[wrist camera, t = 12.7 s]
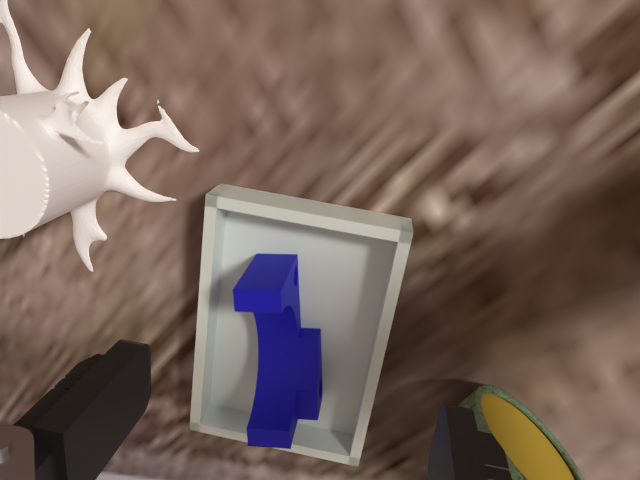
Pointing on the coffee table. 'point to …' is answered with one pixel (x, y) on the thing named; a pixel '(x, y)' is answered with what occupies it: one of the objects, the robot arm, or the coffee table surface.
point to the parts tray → (315, 310)
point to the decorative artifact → (520, 436)
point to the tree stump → (66, 149)
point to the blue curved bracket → (280, 351)
